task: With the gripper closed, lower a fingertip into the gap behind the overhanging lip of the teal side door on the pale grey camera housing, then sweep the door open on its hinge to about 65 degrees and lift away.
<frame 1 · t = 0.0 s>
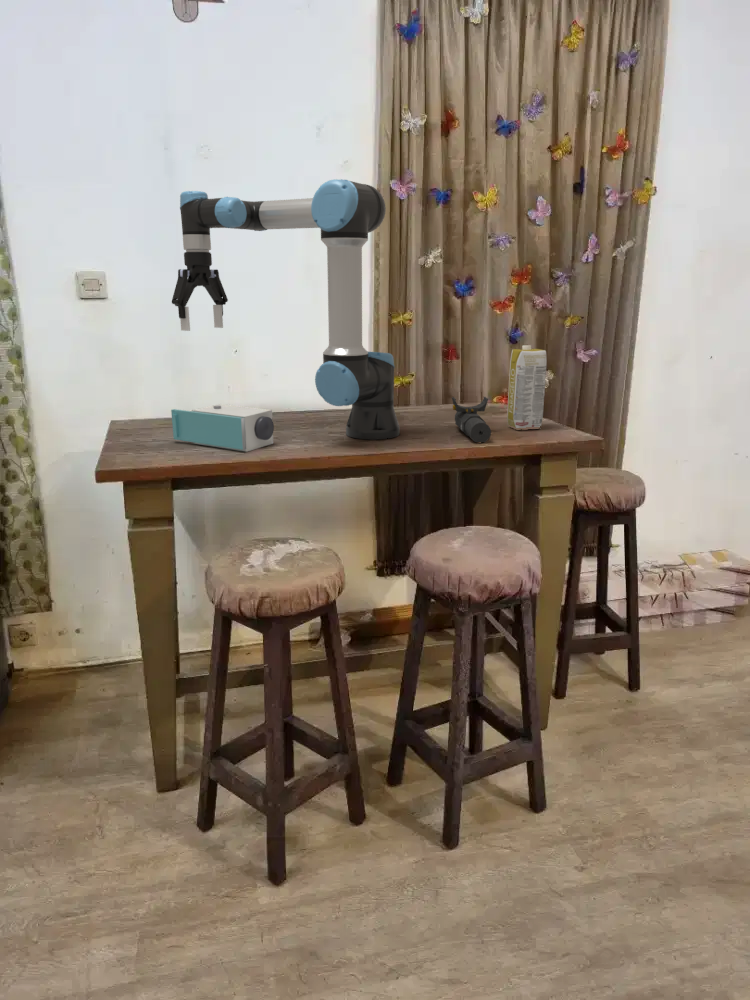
hand: (202, 329, 210), 28 cm above the table, fingers open, 13 cm apart
juice carton: (524, 429, 214), on the table
camera housing: (233, 443, 194), on the table
laser sight: (471, 436, 205), on the table
side door: (207, 429, 188), point 5 cm above the table, hinge at 0.0°
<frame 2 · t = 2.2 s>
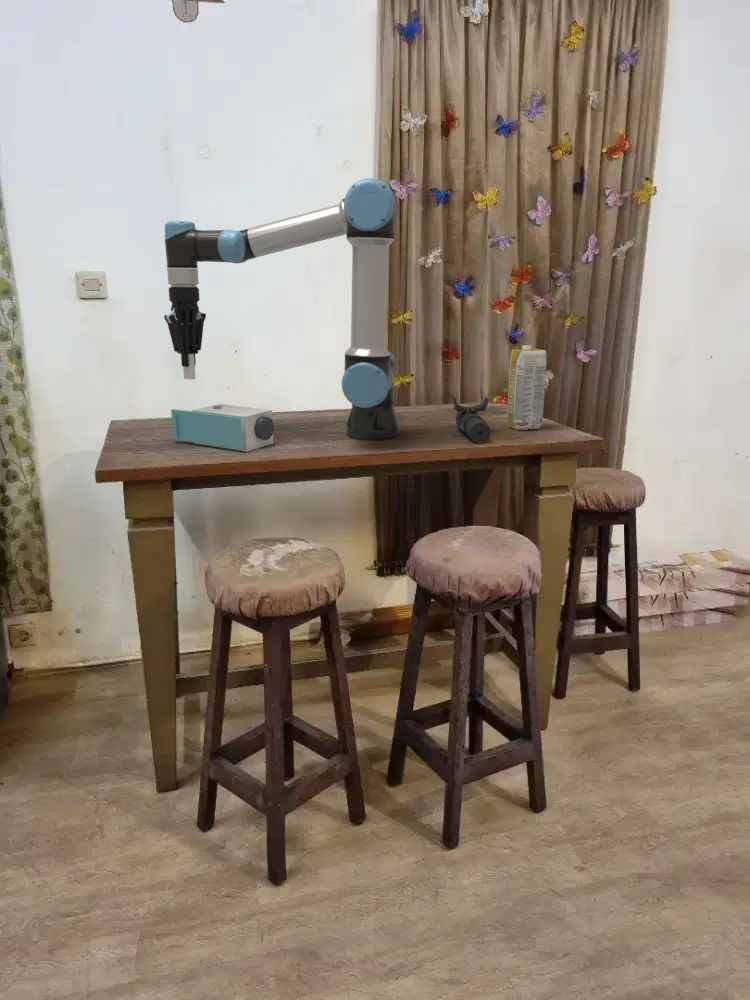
hand: (189, 378, 192), 17 cm above the table, fingers closed
nothing on the table moved.
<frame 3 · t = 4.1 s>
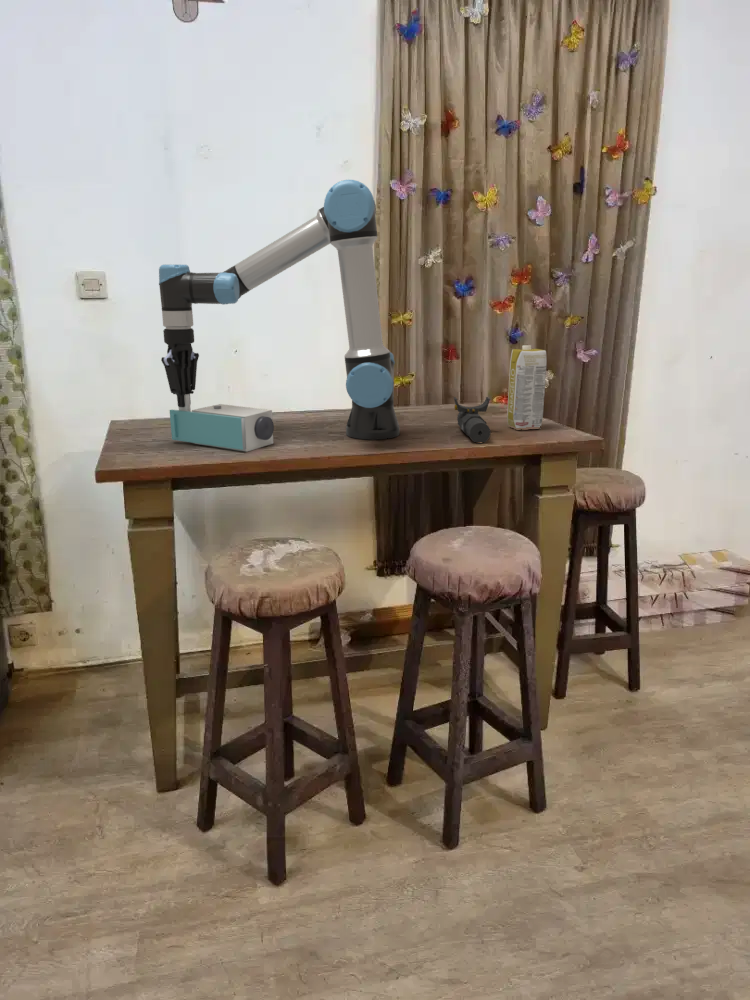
hand: (185, 418, 193), 7 cm above the table, fingers closed
side door: (206, 429, 188), point 5 cm above the table, hinge at 1.6°, touching gripper
everything else where it was.
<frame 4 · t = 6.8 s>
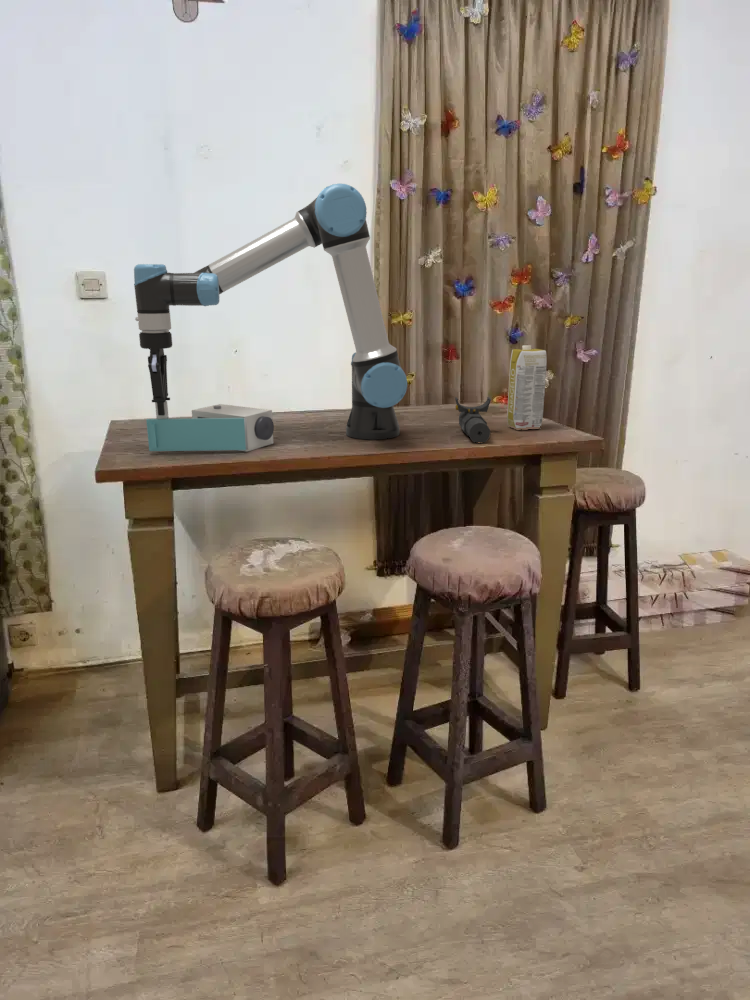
hand: (163, 427, 182), 6 cm above the table, fingers closed
side door: (197, 434, 182), point 5 cm above the table, hinge at 34.0°, touching gripper
everything else where it was.
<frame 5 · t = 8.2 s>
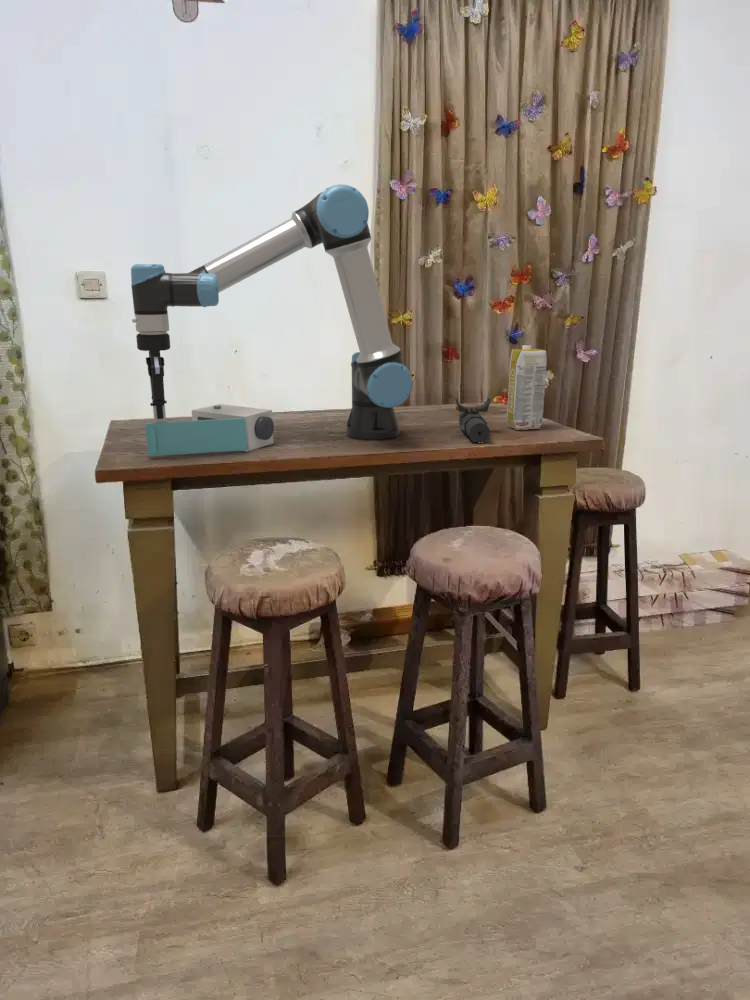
hand: (160, 431, 178), 6 cm above the table, fingers closed
side door: (198, 437, 179), point 5 cm above the table, hinge at 46.9°, touching gripper
everything else where it was.
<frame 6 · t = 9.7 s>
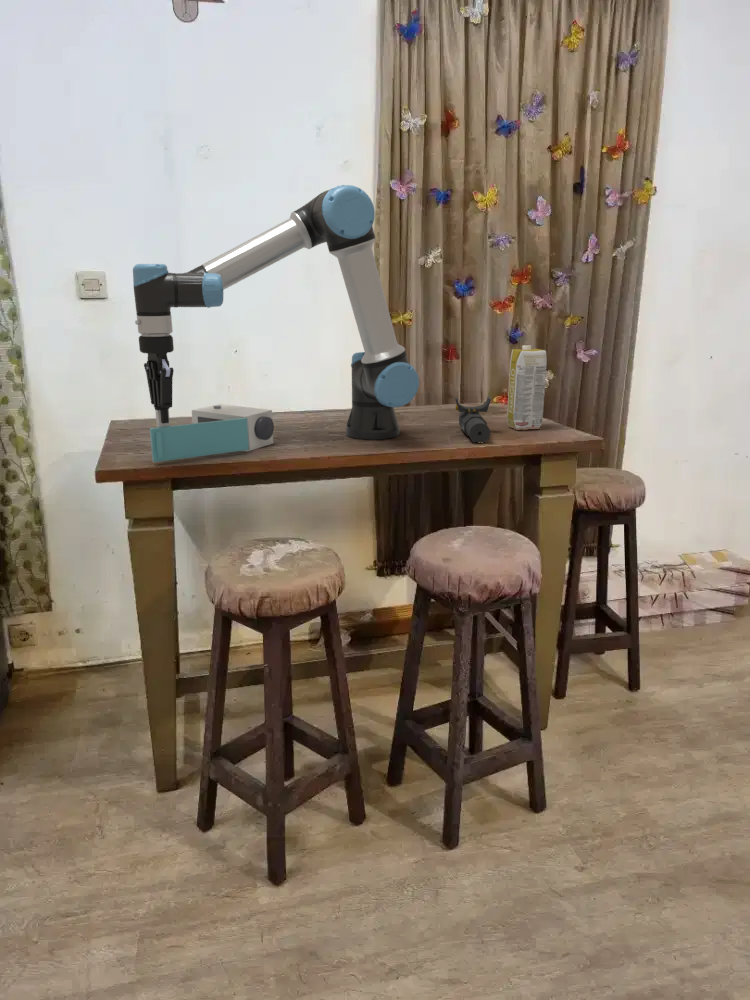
hand: (164, 435, 173), 6 cm above the table, fingers closed
side door: (202, 439, 177), point 5 cm above the table, hinge at 63.1°, touching gripper
everything else where it was.
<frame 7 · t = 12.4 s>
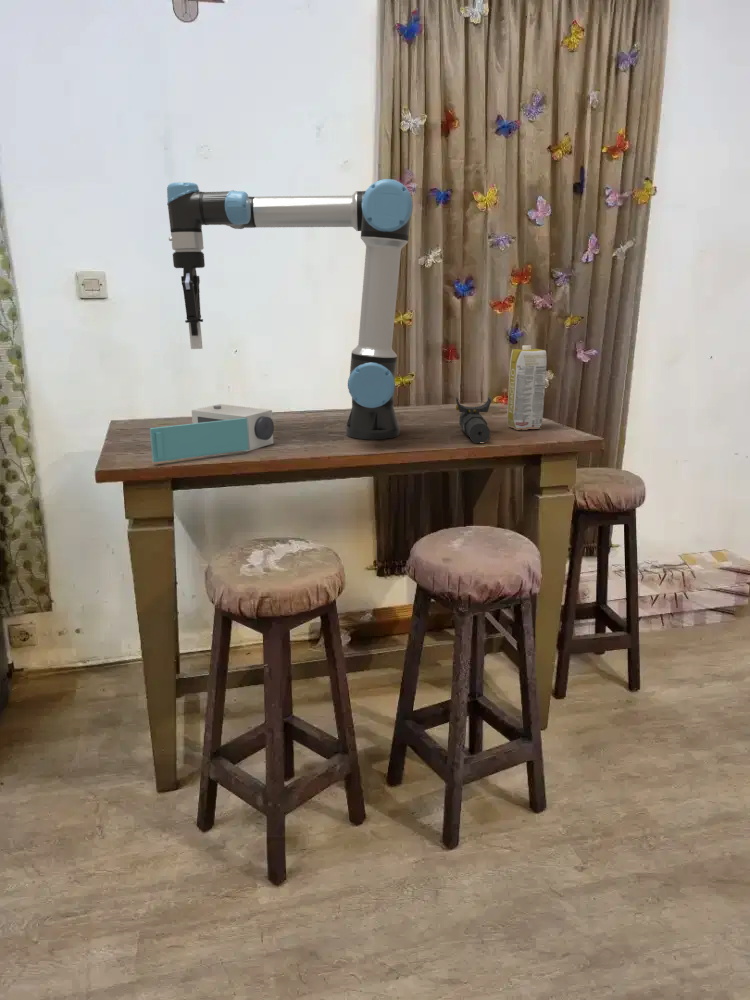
hand: (196, 348, 186), 25 cm above the table, fingers closed
side door: (202, 439, 177), point 5 cm above the table, hinge at 63.1°
everything else where it was.
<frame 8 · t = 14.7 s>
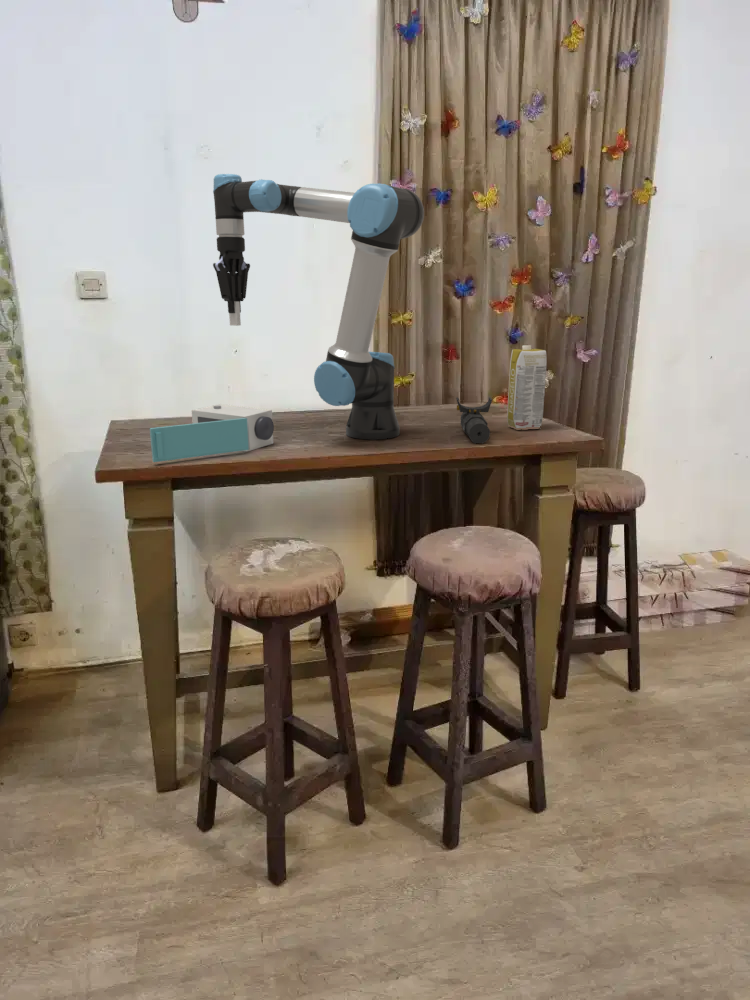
hand: (235, 325, 205), 29 cm above the table, fingers closed
at the end: side door at +63° (first picture: +0°) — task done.
